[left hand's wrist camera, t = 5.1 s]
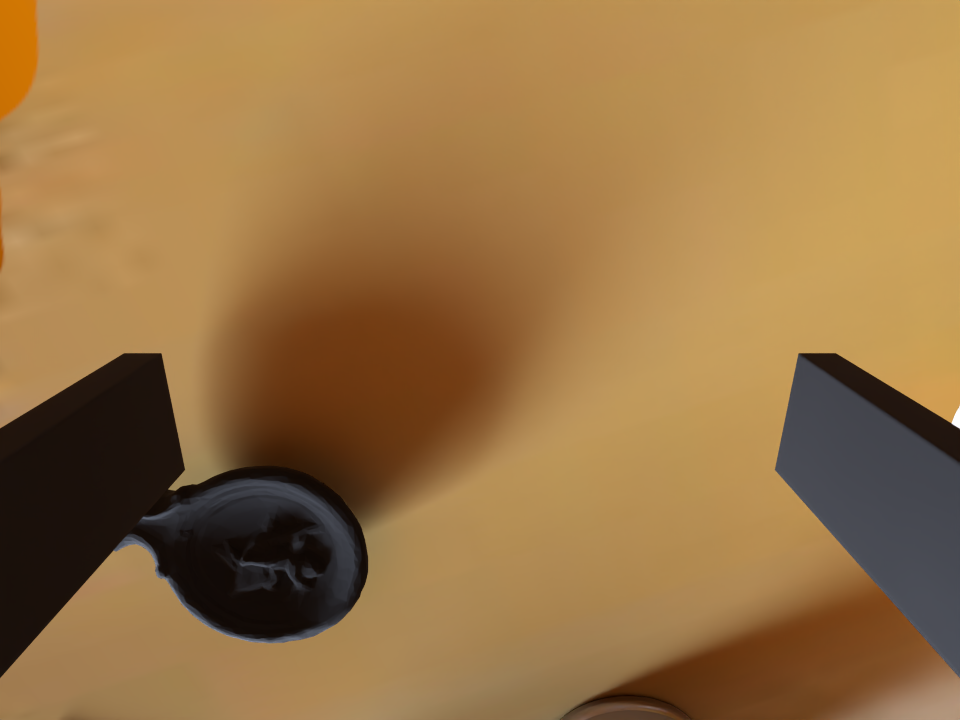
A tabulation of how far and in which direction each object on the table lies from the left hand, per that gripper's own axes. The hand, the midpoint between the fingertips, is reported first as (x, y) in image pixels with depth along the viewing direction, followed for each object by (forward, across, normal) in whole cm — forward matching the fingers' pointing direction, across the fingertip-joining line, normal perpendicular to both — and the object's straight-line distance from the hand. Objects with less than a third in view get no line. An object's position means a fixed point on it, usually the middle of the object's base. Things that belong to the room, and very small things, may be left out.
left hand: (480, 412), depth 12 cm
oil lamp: (+28, +18, +22) cm, 40 cm away
